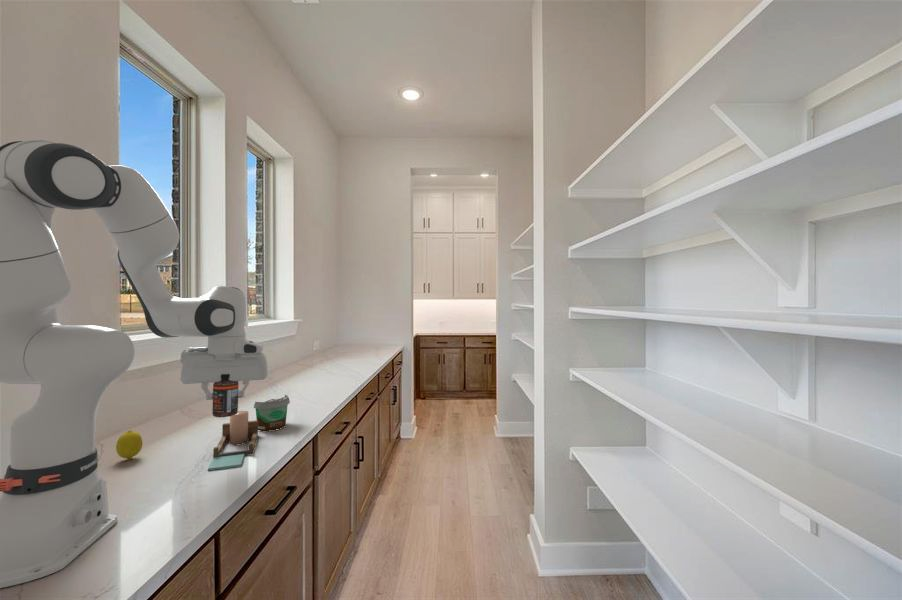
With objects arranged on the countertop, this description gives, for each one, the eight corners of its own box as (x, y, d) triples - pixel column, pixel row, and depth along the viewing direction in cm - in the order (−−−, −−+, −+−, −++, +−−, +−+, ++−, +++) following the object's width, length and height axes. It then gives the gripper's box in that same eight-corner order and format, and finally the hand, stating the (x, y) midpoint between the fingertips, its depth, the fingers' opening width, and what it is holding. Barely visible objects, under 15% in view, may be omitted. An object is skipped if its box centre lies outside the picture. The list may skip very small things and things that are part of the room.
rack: (252, 454, 110) (253, 436, 110) (213, 459, 106) (213, 441, 106) (257, 435, 125) (257, 420, 125) (223, 439, 122) (223, 423, 122)
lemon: (127, 464, 103) (127, 434, 103) (110, 462, 104) (110, 432, 104) (147, 456, 108) (147, 427, 108) (131, 454, 109) (131, 426, 109)
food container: (264, 435, 126) (264, 404, 126) (253, 431, 129) (253, 401, 129) (297, 425, 136) (297, 396, 136) (286, 422, 139) (286, 394, 139)
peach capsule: (247, 444, 118) (247, 414, 118) (228, 446, 116) (228, 416, 116) (248, 438, 123) (249, 410, 123) (230, 440, 121) (231, 411, 121)
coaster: (240, 466, 102) (241, 464, 102) (207, 470, 99) (207, 468, 99) (244, 455, 109) (244, 453, 109) (213, 459, 106) (213, 457, 106)
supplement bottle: (206, 416, 102) (207, 373, 102) (225, 411, 108) (226, 370, 108) (224, 419, 100) (225, 375, 101) (243, 413, 106) (243, 371, 106)
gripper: (177, 349, 98) (176, 404, 97) (267, 346, 106) (266, 397, 105) (184, 346, 103) (182, 398, 103) (268, 344, 111) (267, 393, 111)
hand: (225, 398), depth 104 cm, fingers closed on supplement bottle, 6 cm apart
